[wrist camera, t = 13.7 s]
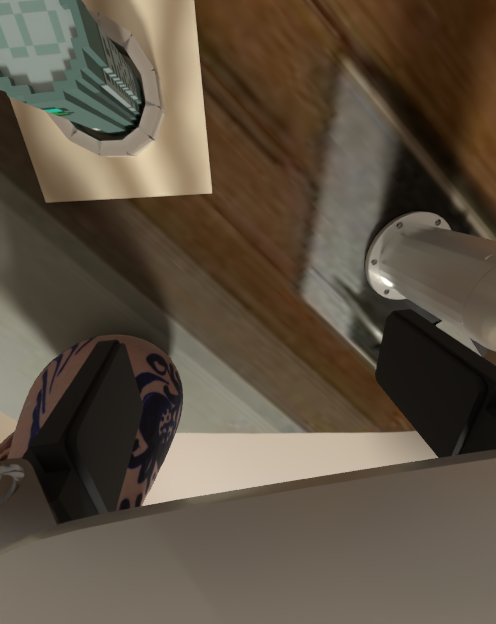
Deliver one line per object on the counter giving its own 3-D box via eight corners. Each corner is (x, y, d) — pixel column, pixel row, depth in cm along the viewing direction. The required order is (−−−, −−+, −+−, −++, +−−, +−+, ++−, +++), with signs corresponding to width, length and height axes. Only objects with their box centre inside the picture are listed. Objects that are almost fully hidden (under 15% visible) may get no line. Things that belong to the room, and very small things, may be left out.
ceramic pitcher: (201, 391, 47) (195, 590, 24) (80, 426, 46) (-37, 657, 24) (160, 300, 38) (97, 473, 16) (13, 342, 38) (-252, 573, 16)
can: (66, 61, 25) (-88, -62, 12) (133, 54, 26) (55, -72, 12) (91, 139, 28) (-12, 108, 15) (151, 131, 29) (103, 95, 15)
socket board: (191, -24, 25) (188, -62, 21) (211, 192, 33) (212, 195, 29) (-25, -28, 23) (-73, -70, 19) (52, 201, 32) (30, 205, 28)
